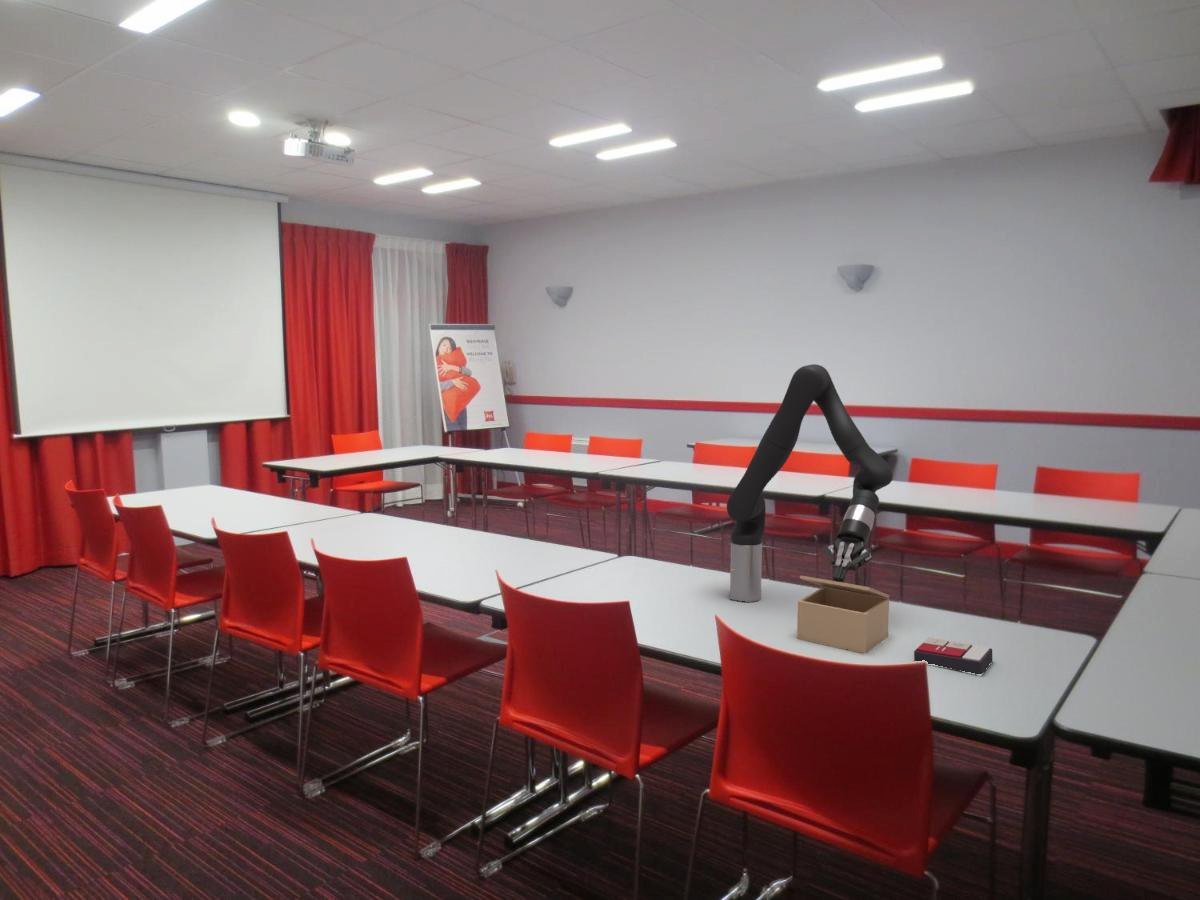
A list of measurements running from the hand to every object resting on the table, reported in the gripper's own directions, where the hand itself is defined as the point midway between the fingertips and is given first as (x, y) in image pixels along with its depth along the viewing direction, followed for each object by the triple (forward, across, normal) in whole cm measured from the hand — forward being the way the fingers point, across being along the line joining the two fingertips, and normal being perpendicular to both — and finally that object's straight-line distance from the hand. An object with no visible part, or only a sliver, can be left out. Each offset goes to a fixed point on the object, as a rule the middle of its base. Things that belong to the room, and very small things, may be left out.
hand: (837, 581), depth 204 cm
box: (+8, 0, +15) cm, 17 cm away
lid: (-1, 0, +6) cm, 6 cm away
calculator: (+9, +27, +15) cm, 32 cm away
